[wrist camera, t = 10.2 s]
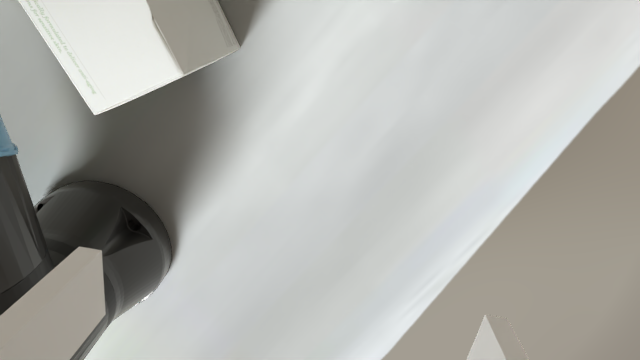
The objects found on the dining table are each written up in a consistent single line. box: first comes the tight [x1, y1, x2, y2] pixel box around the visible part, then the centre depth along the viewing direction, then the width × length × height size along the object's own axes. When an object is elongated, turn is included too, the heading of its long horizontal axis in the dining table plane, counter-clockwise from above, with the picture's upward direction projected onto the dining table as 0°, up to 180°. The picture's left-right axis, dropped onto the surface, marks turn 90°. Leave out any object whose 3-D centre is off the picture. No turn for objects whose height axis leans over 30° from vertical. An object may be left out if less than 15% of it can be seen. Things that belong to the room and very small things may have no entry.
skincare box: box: [18, 0, 240, 115], centre depth 28 cm, size 8×7×16 cm
